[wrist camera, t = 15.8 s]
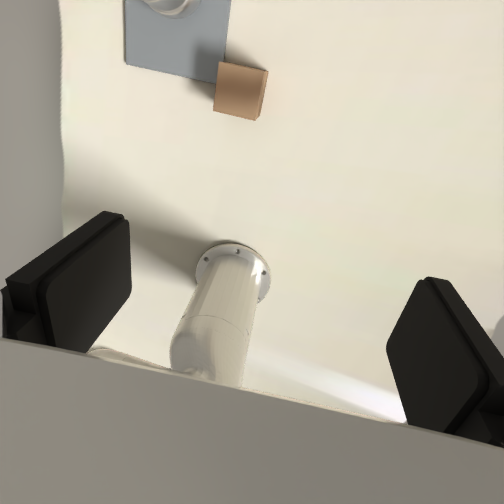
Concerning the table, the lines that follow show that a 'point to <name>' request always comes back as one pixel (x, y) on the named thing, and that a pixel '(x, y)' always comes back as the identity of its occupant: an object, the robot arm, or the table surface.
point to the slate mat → (178, 39)
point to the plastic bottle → (173, 7)
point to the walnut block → (239, 90)
